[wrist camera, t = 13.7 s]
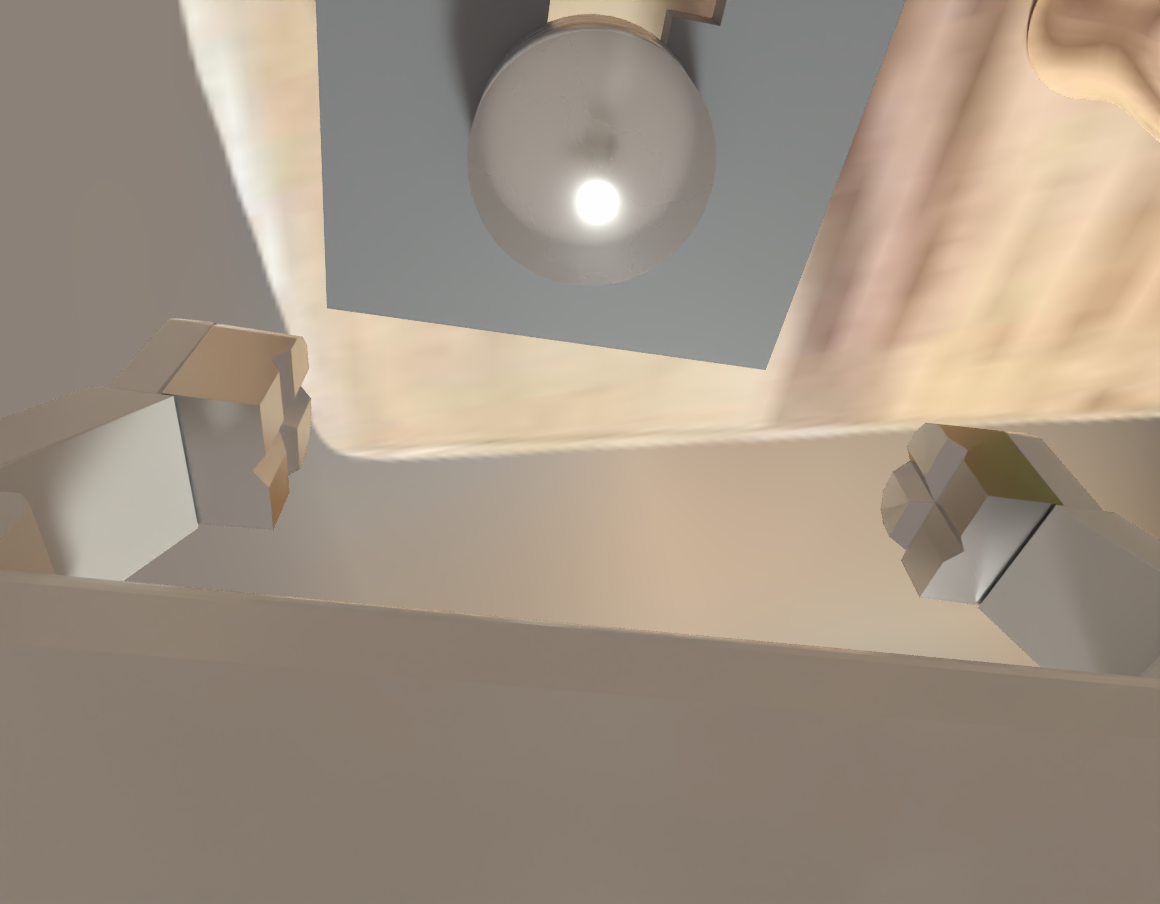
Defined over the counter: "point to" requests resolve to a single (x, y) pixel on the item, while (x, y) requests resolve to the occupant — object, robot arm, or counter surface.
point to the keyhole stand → (537, 304)
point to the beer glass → (1100, 53)
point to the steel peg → (590, 151)
